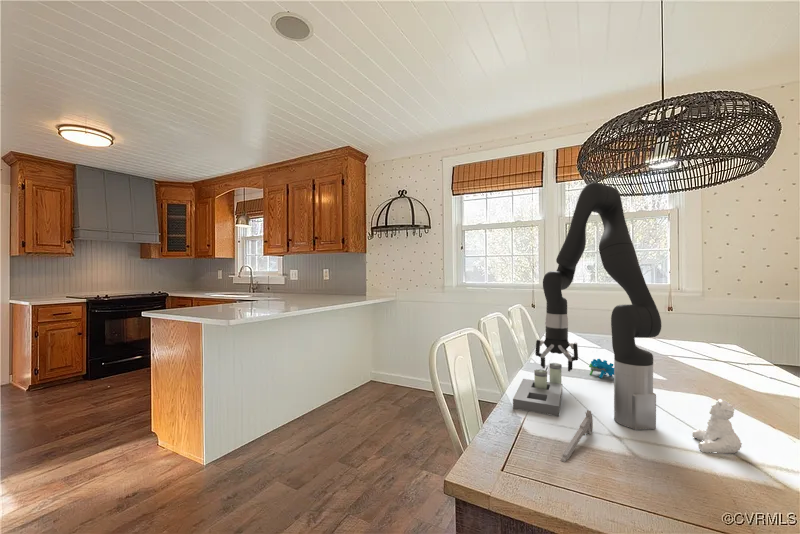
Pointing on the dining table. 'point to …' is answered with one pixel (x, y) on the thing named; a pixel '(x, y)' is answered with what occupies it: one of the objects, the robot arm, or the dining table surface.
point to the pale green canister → (555, 372)
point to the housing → (538, 395)
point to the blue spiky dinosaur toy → (601, 367)
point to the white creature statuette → (719, 431)
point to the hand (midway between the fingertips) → (556, 369)
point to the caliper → (579, 435)
